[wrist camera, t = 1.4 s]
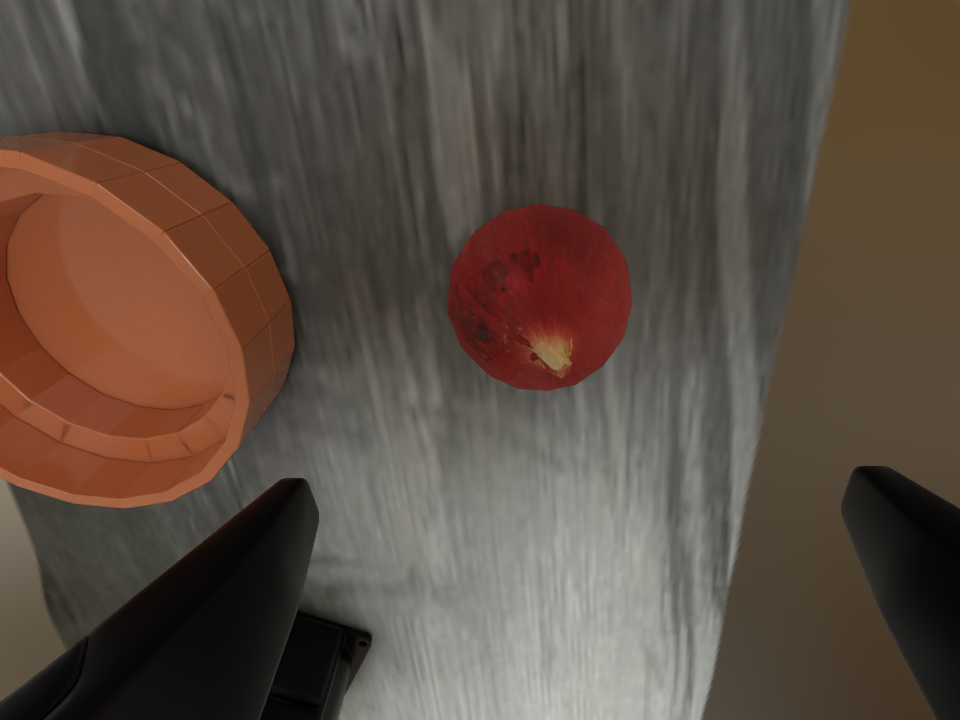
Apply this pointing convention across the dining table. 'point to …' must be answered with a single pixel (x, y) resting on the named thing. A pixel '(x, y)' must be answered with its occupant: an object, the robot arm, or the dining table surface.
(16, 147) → the bowl
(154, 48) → the dining table surface
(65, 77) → the dining table surface
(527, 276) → the onion
